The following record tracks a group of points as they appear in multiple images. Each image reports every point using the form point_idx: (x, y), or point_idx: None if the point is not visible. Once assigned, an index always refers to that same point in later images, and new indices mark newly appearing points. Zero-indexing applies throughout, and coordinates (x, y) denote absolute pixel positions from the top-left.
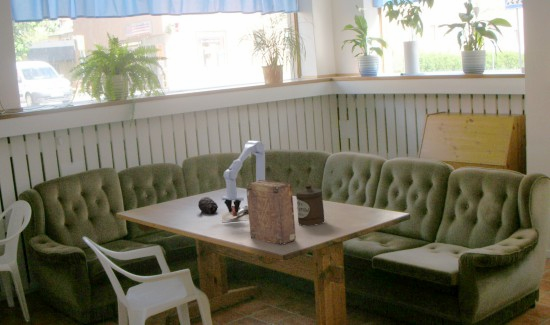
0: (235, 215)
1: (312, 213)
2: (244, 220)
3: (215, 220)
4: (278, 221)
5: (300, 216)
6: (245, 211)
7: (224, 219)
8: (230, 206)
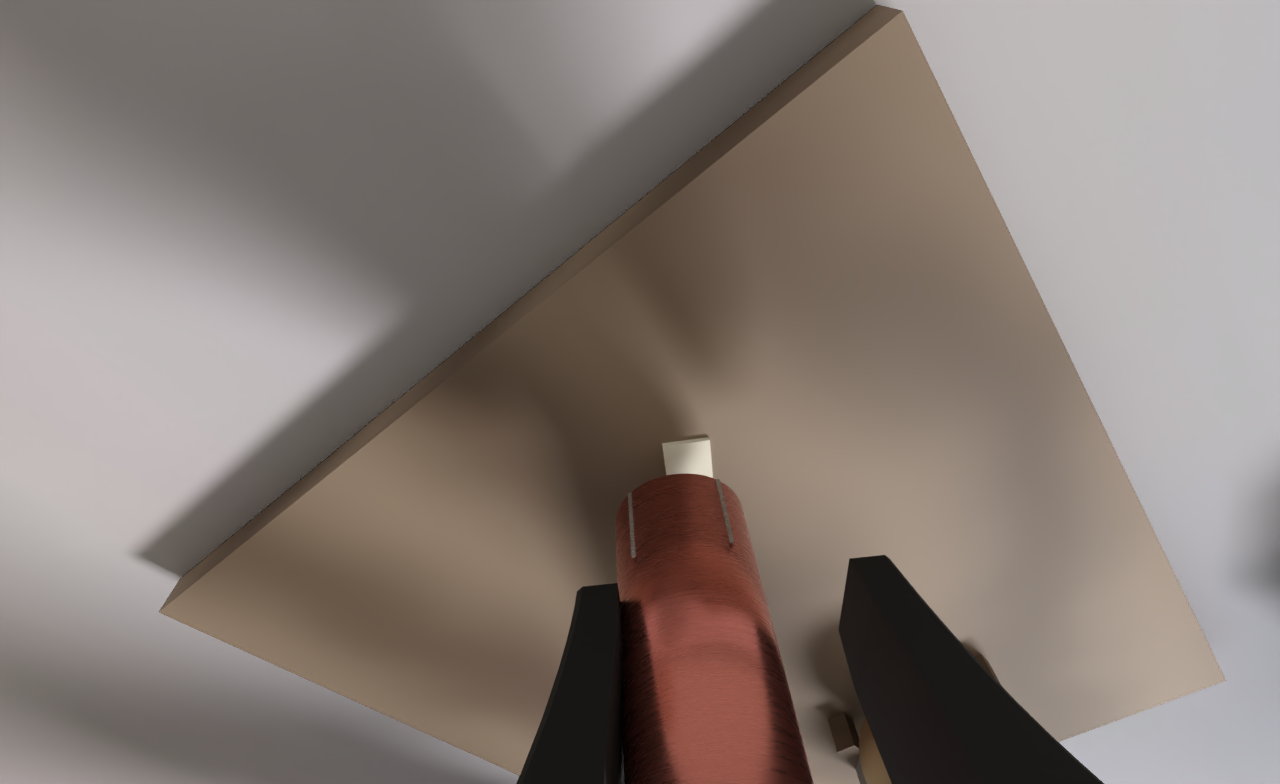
0: (629, 509)
1: None
2: (348, 443)
3: (1242, 222)
4: None
5: None
6: None
7: (915, 255)
8: None
